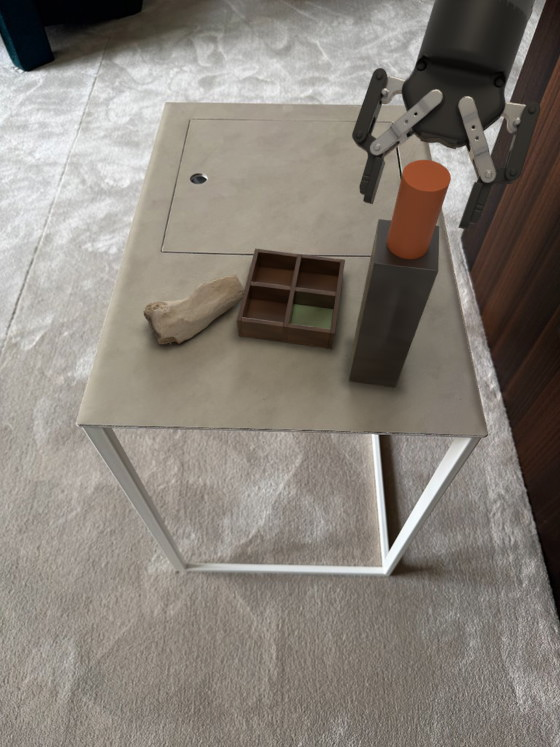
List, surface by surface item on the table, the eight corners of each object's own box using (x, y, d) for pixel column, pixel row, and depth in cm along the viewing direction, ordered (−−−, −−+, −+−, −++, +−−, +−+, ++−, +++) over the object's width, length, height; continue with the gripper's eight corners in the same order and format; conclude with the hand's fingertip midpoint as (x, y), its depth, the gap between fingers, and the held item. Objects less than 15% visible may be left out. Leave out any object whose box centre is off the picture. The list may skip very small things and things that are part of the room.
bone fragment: (163, 355, 72) (156, 334, 68) (145, 321, 75) (137, 299, 71) (254, 315, 75) (252, 293, 71) (233, 285, 78) (231, 262, 74)
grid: (342, 276, 79) (345, 259, 76) (332, 349, 72) (334, 333, 69) (256, 265, 80) (255, 248, 77) (238, 336, 74) (236, 320, 70)
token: (429, 231, 53) (451, 162, 46) (427, 261, 51) (450, 194, 44) (388, 226, 53) (403, 157, 47) (385, 256, 51) (401, 188, 45)
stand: (397, 349, 72) (439, 225, 54) (395, 387, 69) (438, 271, 51) (353, 343, 73) (378, 218, 54) (348, 381, 70) (374, 263, 51)
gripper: (391, -28, 41) (330, 190, 45) (586, 7, 38) (501, 235, 43) (396, 14, 48) (343, 199, 53) (561, 46, 46) (491, 238, 50)
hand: (414, 215), depth 48 cm, fingers open, 8 cm apart
